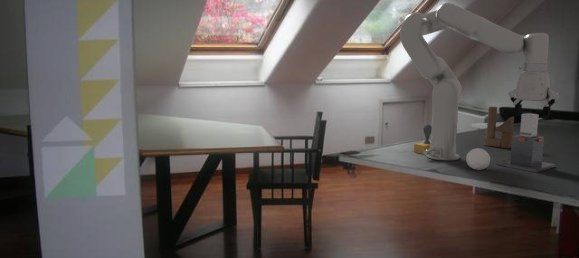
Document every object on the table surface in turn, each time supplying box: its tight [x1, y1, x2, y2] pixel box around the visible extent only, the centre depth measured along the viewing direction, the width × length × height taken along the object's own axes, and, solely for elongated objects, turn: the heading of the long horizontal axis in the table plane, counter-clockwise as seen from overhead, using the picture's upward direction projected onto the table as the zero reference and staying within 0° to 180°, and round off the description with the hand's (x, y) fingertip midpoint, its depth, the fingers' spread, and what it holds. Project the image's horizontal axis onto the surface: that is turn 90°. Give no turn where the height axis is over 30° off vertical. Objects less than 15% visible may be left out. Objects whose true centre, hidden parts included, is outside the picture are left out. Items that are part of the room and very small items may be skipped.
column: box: [519, 112, 540, 138], centre depth 153 cm, size 5×4×18 cm
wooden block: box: [483, 105, 515, 149], centre depth 189 cm, size 4×11×18 cm, turn 43°
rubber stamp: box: [413, 124, 432, 155], centre depth 179 cm, size 10×6×12 cm, turn 123°
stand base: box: [496, 134, 556, 173], centre depth 154 cm, size 14×14×11 cm
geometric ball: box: [465, 147, 491, 171], centre depth 149 cm, size 8×8×8 cm
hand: (531, 116), depth 152 cm, fingers open, 9 cm apart
